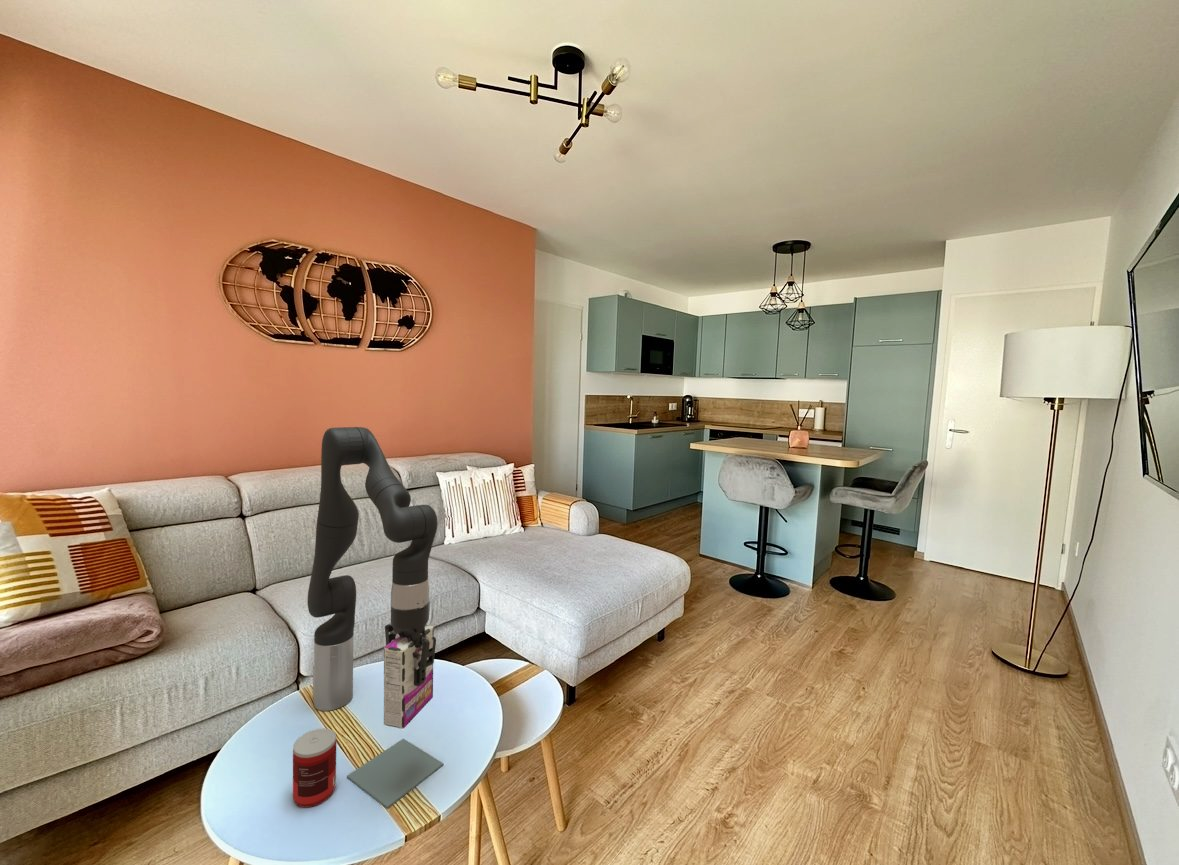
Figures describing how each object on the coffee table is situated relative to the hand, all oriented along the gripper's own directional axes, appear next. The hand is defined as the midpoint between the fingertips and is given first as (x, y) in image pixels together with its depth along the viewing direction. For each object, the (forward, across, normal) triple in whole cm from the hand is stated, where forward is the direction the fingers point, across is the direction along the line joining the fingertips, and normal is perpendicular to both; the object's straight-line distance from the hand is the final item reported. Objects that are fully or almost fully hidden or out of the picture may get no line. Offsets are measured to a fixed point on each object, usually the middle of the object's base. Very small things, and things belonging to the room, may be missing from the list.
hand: (409, 678), depth 100 cm
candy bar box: (+7, 0, 0) cm, 7 cm away
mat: (+22, -4, 0) cm, 22 cm away
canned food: (+22, -13, -13) cm, 29 cm away
